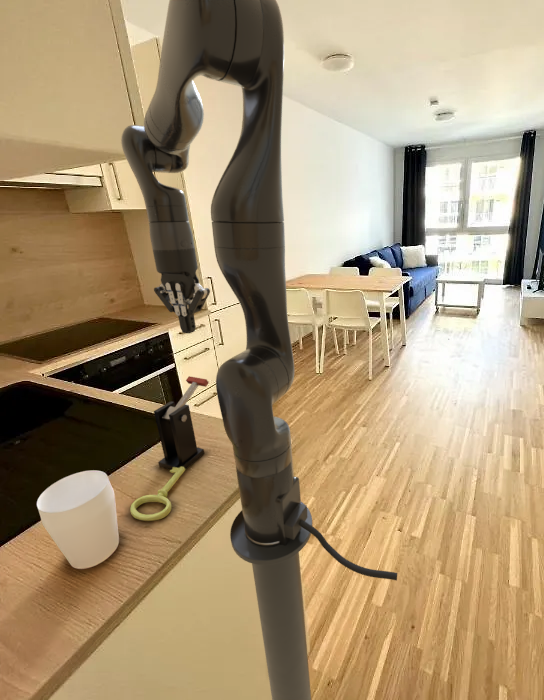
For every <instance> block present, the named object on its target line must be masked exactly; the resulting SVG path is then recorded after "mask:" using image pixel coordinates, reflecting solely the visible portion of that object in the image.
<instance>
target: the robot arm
mask: <svg viewBox="0 0 544 700" xmlns="http://www.w3.org/2000/svg"><path fill="white" fill-rule="evenodd" d="M284 72H285V34H284V23H283V18H282V13H281V9H280V6H279V4H278V2H277V0H169V1H168V6H167V12H166V18H165V26H164V32H163V37H162V44H161V51H160V59H159V67H158V74H157V82H156V86H155V90H154V92H153V95H152V98H151V101H150V102H149V105H148V107H147V110H146V112H145V115H144V118H143V125H138V124H130V125H127V126H126V127H125V128H124V129H123V131H122V134H121V138H120V140H121V142H120V143H121V148H122V152H123V154H124V157H125V160H126V161H127V163H128V165H129V167H130V169H131V171H132V173H133V174H134V175H133V176H134V177H135V179H136V182H137V184H138V186H139V189H140V191H141V194H142V197H143V202H144V205H145V206H144V207H145V210H146V215H147V221H148V229H149V238H150V243H151V249H152V253H153V258H154V259H153V260H154V263H155V269H156V272H157V273H159V274H161V275H160V276H161V277H160V285H159V286H157V287H154V288H153V292H154V293H155V295H156V296H157V297H158V299H159V300H160V301H161V302H162V304H163V305H164V307H165V308H166V309H167V310H168V312H169V313H174V314H175V315H176V316H177V318H178V323H179V327H180V330H181V332H182V334H192V333H194V332H195V331H196V329H197V328H196V320H195V314H196V313H198V312H202V309H203V307H204V306H205V304H206V301H207V300H208V298H209V295H210V293H211V290H210V289H209V287H205V288H204V287H203V286H202V285H201V284H200V280H199V278H198V276H197V270H198V269H199V266H198V259H197V254H196V247H195V242H194V241H195V240H194V235H193V231H192V227H191V224H190V219H189V218H190V217H189V213H188V205H187V199H186V195H185V193H184V191H183V190H181V189H180V188H177V187H174V186H169V185H167V184H163V183H161V182H160V181H159V180H158V179H157V177H156V176H155V174H154V173H162V174H180V173H182V172H185V171H186V170H187V169H188V167H189V163H190V148H191V145H192V143H193V142H194V141H195V139H196V137H197V136H198V134H200V131H201V130H202V127H203V125H204V124H203V123H204V119H205V118H204V117H205V112H204V105H203V102H202V98H201V95H200V93H199V91H198V89H197V86H196V84H195V82H194V80H195V79H196V78H198V77H200V76H202V77H204V78H206V79H209V80H213V81H217V82H219V83H220V82H221V83H224V84H229V85H233V86H237V87H240V88H241V92H242V93H241V94H242V122H241V129H240V135H239V138H238V142H237V144H236V147H235V149H234V151H233V153H232V156H231V157H230V159H229V161H228V163H227V165H226V167H225V169H224V171H223V173H222V175H221V177H220V179H219V181H218V183H217V186H216V188H215V190H214V193H213V196H212V198H211V203H210V219H211V228H212V238H213V247H214V253H215V258H216V262H217V266H218V267H219V269H220V272H221V274H222V275H223V278H224V279H225V281H226V283H227V284H228V286H229V287H230V289H231V291H232V292H233V294H234V296H235V297H236V299H237V301H238V302H239V305H240V307H241V309H242V312H243V316H244V321H245V331H246V332H245V333H246V347H245V350H243V351H241V352H240V353H238V354H236V355H234V356H232V357H231V358H229V359H228V360H225V361H224V362H223V363H222V364H221V365H220V366H219V368H218V369H217V373H216V376H215V390H216V396H217V400H218V405H219V409H220V414H221V418H222V423H223V427H224V431H225V434H226V436H227V438H228V439H229V441H230V443H231V445H232V450H233V457H234V464H235V471H236V472H235V473H236V478H237V484H238V491H239V498H240V506H241V511H242V512H243V518H244V524H245V526H244V528H245V534H246V537H247V538H248V540H249V541H250V542H252V543H253V544H255V545H257V546H261V547H272V546H276V545H283V546H286V545H287V544H288V542H289V540H290V539H293V540H294V539H295V537H296V535H297V534H298V532H299V530H300V529H301V527H303V528H304V529H306V530H307V531H309V532H310V533H311V535H312V536H314V538H316V539H317V541H318V542H319V543H320V545H321V546H322V548H323V549H324V550H325V551H326V552H327V553H328V554H329V555H330V556H331V557H332V558H333V559H334V560H336V561H337V562H338V563H339V564H340V565H342V566H343V567H345V568H347V569H348V570H350V571H353V572H354V573H357V574H359V575H363V576H365V577H369V578H374V579H375V578H376V579H384V580H390V581H391V580H392V581H398V572H394V571H388V570H387V571H386V570H379V569H373V568H372V569H371V568H367V567H365V566H361V565H358V564H356V563H353V562H352V561H350V560H348V559H347V558H345V557H344V556H342V555H341V554H340V553H339V552H338V551H337V550H336V549H335V548H334V547H332V545H331V544H330V543H329V542H328V541H327V540H326V538H325V536H324V535H323V534H322V533H321V532H320V530H318V529H317V528H315V527H314V526H313V525H312V526H311V525H310V524H308V523H307V522H305V520H306V519H307V508H308V505H307V504H305V503H304V504H305V505H304V504H301V502H302V498H301V483H300V478H299V477H298V476H295V472H294V459H293V448H292V447H293V446H292V435H291V427H290V425H289V424H288V422H287V421H286V420H285V419H283V418H281V417H278V416H274V410H273V405H275V403H277V402H278V401H279V400H281V399H282V397H284V396H285V395H286V394H287V393H288V392H289V391H290V389H291V387H292V386H293V383H294V379H295V360H294V354H293V346H292V340H291V334H290V327H289V326H290V325H289V319H288V303H287V301H288V300H287V280H286V279H287V277H286V237H285V234H286V233H285V219H284V218H285V215H284V213H285V212H284V201H283V181H282V176H283V175H282V173H283V172H282V123H283V122H282V121H283V98H284V96H283V95H284V79H285V78H284V76H285V74H284Z"/></svg>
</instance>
